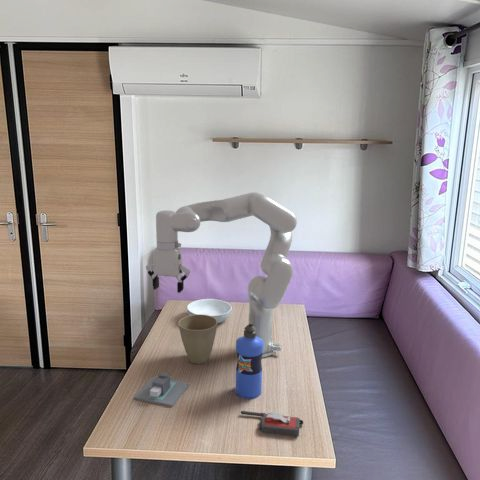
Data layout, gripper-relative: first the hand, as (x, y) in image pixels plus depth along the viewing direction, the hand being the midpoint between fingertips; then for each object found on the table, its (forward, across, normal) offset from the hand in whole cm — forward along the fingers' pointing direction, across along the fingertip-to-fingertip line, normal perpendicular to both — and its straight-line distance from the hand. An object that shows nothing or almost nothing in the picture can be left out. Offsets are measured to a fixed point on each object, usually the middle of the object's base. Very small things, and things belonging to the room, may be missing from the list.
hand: (168, 289), depth 171 cm
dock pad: (+30, -6, +18) cm, 36 cm away
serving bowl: (+31, 0, -43) cm, 53 cm away
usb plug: (+29, -6, +19) cm, 35 cm away
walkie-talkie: (+31, -46, +24) cm, 60 cm away
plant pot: (+31, -9, -7) cm, 33 cm away
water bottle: (+31, -34, +8) cm, 46 cm away
